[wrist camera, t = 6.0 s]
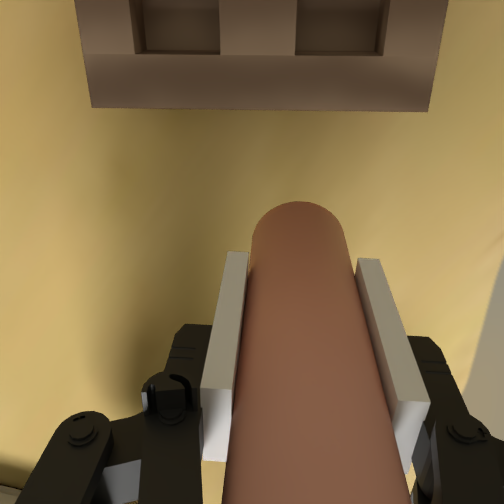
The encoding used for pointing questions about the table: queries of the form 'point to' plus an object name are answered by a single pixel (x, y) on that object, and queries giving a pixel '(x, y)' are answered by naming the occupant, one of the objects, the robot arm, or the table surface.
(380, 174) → the table surface
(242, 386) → the pin
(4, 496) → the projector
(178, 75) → the socket block
